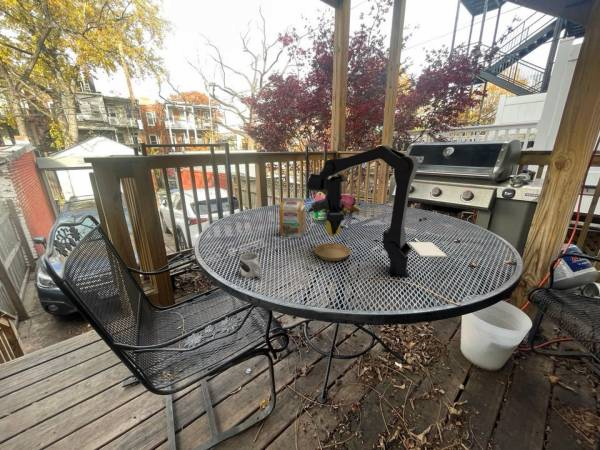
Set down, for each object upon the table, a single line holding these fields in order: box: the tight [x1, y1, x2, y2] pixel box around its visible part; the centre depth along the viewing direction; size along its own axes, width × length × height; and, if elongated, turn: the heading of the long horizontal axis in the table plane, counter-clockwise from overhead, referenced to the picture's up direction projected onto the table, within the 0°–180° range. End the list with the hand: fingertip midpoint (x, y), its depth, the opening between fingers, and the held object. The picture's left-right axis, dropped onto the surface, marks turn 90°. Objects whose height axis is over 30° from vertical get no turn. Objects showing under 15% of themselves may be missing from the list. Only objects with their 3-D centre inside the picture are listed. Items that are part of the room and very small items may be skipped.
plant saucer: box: [314, 242, 352, 262], centre depth 104 cm, size 15×15×3 cm
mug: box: [239, 252, 263, 279], centre depth 89 cm, size 10×7×7 cm, turn 44°
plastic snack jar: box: [278, 197, 307, 239], centre depth 125 cm, size 11×11×19 cm
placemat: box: [408, 241, 448, 258], centre depth 107 cm, size 14×10×1 cm
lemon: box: [325, 221, 341, 237], centre depth 100 cm, size 6×6×8 cm
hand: (333, 231), depth 101 cm, fingers closed on lemon, 5 cm apart
